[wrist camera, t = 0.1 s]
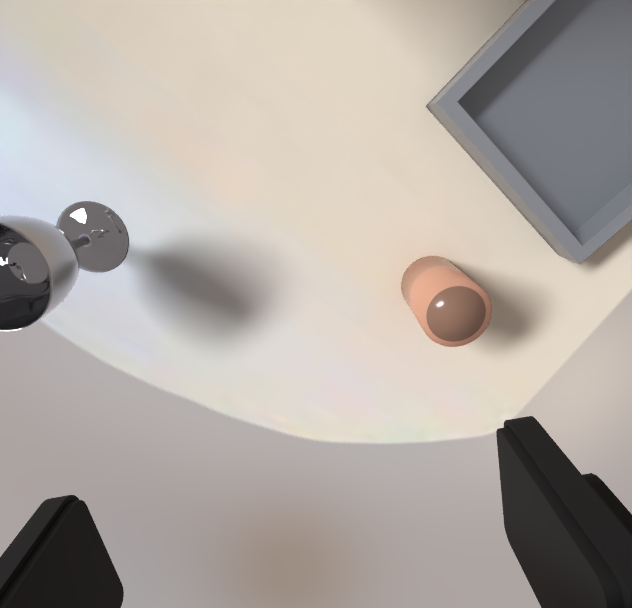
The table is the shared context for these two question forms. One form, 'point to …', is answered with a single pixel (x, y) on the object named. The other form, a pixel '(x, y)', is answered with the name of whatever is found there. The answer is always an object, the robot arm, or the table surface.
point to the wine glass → (53, 258)
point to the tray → (553, 118)
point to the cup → (445, 301)
